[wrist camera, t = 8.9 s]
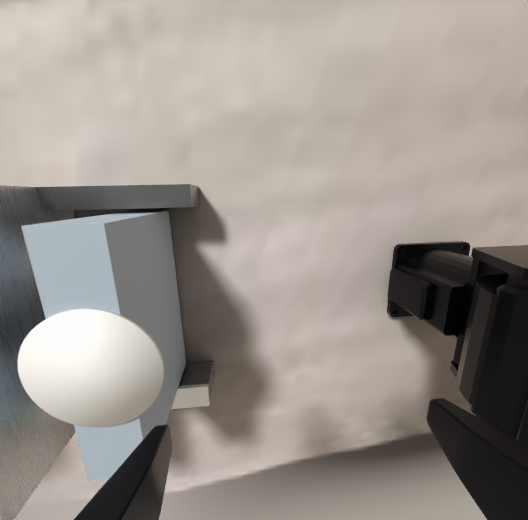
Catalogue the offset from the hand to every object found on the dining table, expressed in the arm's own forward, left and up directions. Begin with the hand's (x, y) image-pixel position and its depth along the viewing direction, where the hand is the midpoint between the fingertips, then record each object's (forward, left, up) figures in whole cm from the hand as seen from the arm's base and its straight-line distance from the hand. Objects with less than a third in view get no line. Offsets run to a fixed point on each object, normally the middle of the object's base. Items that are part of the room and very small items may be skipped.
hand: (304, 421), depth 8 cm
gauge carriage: (+9, +1, -13) cm, 15 cm away
